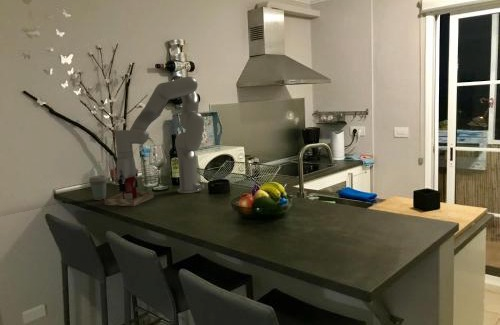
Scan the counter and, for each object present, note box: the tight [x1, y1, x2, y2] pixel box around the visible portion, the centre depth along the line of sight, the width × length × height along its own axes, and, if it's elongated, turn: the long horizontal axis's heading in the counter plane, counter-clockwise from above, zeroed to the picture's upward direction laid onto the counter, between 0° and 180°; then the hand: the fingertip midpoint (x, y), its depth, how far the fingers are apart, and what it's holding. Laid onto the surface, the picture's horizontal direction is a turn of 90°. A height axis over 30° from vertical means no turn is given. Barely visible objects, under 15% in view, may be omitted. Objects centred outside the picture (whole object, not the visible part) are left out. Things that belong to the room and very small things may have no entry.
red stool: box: [121, 176, 137, 200], centre depth 207 cm, size 7×7×12 cm
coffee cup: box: [88, 174, 107, 201], centre depth 216 cm, size 8×8×12 cm
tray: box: [103, 191, 155, 207], centre depth 208 cm, size 17×17×3 cm
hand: (128, 189), depth 208 cm, fingers open, 9 cm apart
